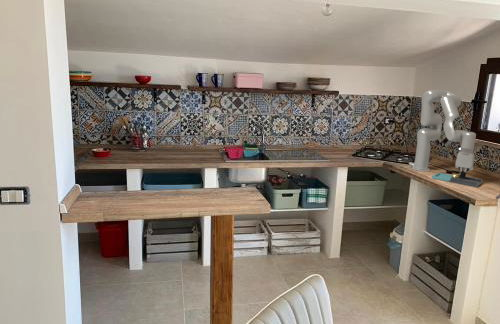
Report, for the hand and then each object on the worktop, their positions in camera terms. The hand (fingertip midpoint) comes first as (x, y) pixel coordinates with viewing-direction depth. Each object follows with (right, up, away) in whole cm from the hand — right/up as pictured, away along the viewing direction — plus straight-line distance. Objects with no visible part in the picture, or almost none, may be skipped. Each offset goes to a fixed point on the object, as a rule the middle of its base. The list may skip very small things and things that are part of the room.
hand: (462, 177), depth 255 cm
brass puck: (-3, -1, +3) cm, 4 cm away
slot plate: (+2, -4, -1) cm, 4 cm away
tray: (-8, -1, +8) cm, 12 cm away
